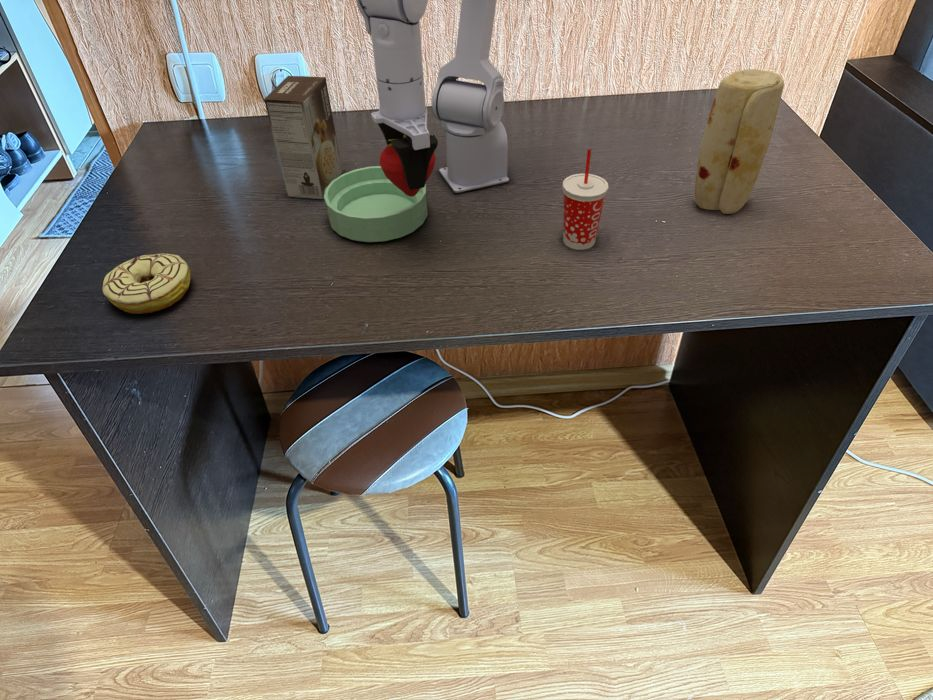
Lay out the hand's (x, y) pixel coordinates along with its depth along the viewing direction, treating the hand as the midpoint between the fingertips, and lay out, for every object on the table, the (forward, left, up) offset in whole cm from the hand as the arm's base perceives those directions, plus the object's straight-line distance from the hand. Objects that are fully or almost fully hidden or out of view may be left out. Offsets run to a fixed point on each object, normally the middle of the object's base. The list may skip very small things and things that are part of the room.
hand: (409, 176), depth 88 cm
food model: (-46, +10, -10) cm, 48 cm away
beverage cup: (-22, +10, -10) cm, 26 cm away
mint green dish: (+3, -7, -10) cm, 13 cm away
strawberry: (0, 0, -3) cm, 3 cm away
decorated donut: (+36, -1, -10) cm, 38 cm away
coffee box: (+10, -21, -10) cm, 25 cm away
